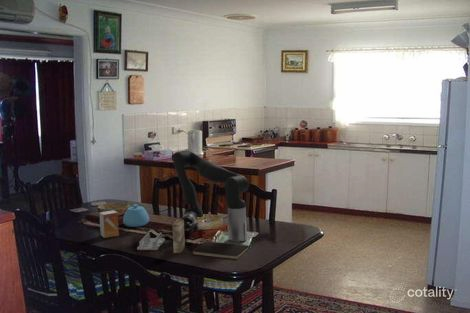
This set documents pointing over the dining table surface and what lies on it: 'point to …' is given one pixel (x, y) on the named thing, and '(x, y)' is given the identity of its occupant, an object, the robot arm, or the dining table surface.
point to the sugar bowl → (135, 216)
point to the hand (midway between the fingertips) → (181, 230)
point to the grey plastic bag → (150, 242)
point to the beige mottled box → (178, 236)
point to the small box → (109, 224)
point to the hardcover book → (221, 250)
